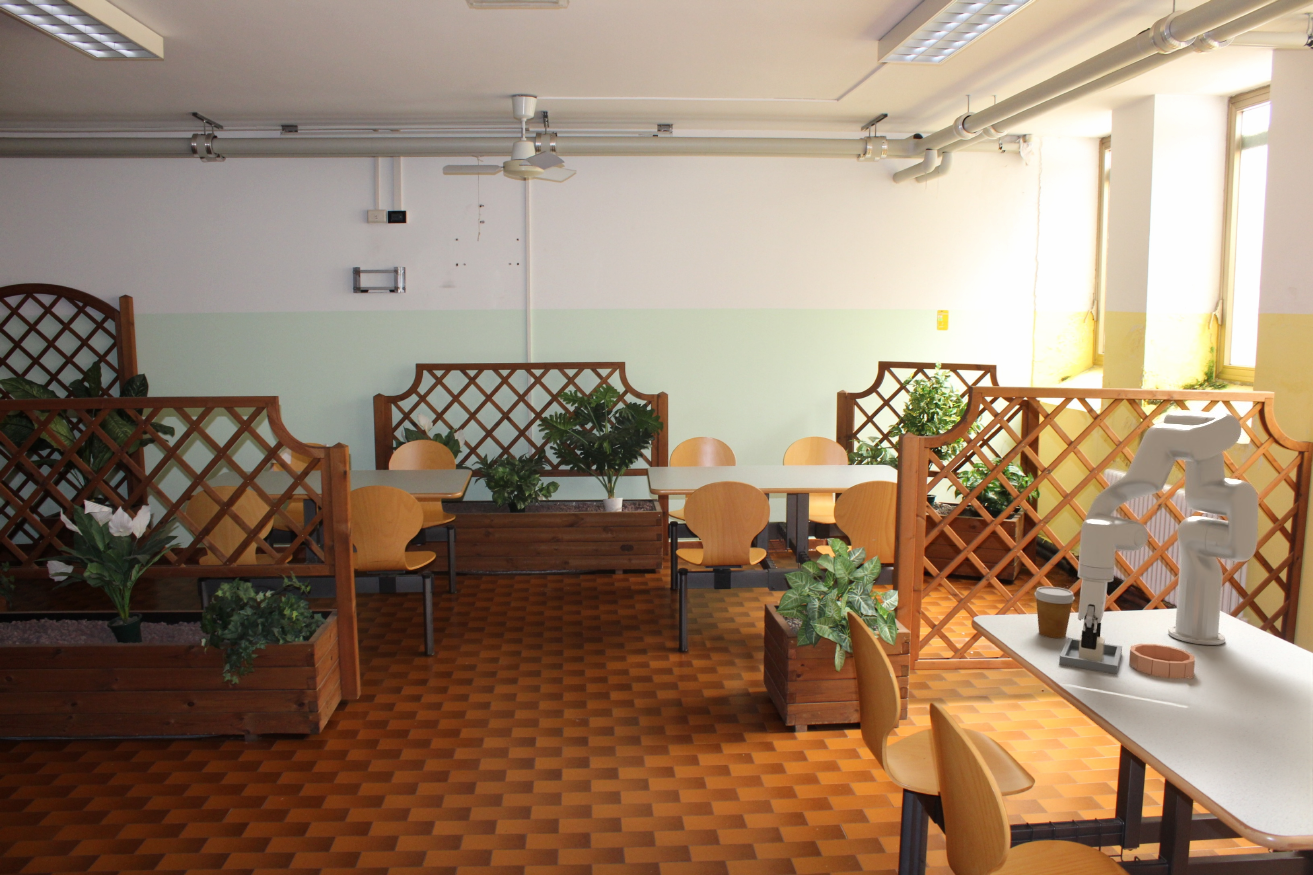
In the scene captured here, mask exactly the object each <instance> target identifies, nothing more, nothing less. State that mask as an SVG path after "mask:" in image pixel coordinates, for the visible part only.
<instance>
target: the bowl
mask: <svg viewBox="0 0 1313 875" xmlns="http://www.w3.org/2000/svg"><path fill="white" fill-rule="evenodd" d="M1195 663H1196V657H1195V655H1193V653H1191V652H1189V651H1187V650H1184V649H1180V648H1177V647H1175V646H1169V645H1164V644H1163V645H1162V644H1157V643H1138V644H1134V645H1130V648H1129V661H1128V665H1129V666H1130V667H1132V668H1133V669H1135V670H1136V671H1138V672H1141V673H1144V674H1147V675H1149V676H1155V677H1161V678H1167V679H1187V678H1188V680H1190V679H1194V677H1195V675H1194V674H1195V665H1196V664H1195Z"/></svg>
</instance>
